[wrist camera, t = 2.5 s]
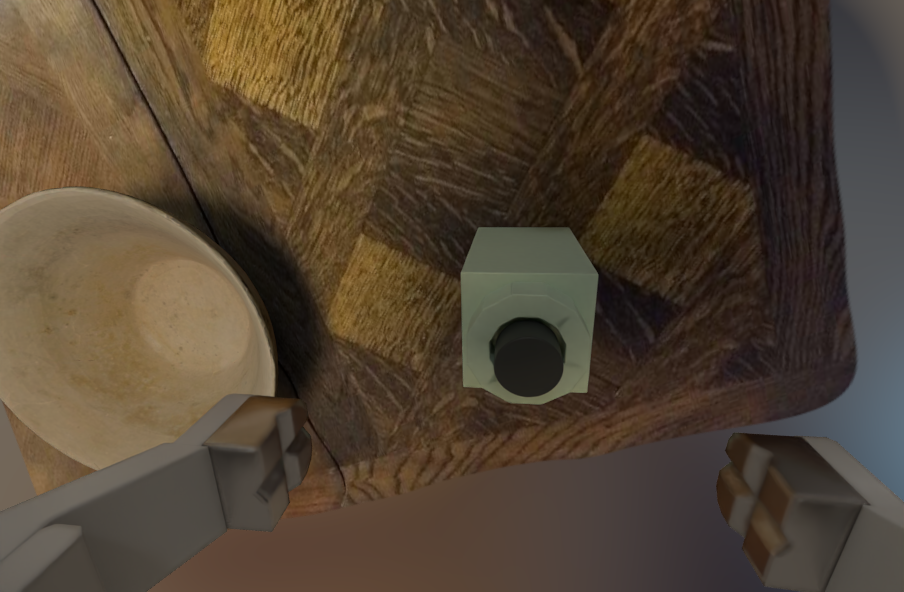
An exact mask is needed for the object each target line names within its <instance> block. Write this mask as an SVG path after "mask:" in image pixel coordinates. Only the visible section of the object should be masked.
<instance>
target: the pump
mask: <svg viewBox="0 0 904 592" xmlns="http://www.w3.org/2000/svg"><path fill="white" fill-rule="evenodd" d="M563 369H564V365H563V359H562V355H561V350H560V346H559V342H558V339H557V337H556V335H555V333H554V332H553V331H552V330H551V329H550V328H549V327H548V326H546V325H545V324H543V323H540V322H537V321H533V320H521V321H517V322H514V323H511V324H510V325H508V326H507V327H505V328H504V329H503V330H502V331H501V333H500V334H499V336H498V338H497V340H496V344H495V356H494V373H495V376H496V378H497V380H498V382H499V383H500V384H501V385H502V386H503V388H505V389H506V390H507V391H509V392H510V393H512V394H515V395H517V396H521V397H537V396H541V395H544V394H546V393H548V392H549V391H551V390H552V389H553V388H555V386H556V385H557V384H558V383H559V381H560V379H561V377H562V374H563Z"/></svg>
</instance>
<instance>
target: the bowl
mask: <svg viewBox="0 0 904 592" xmlns="http://www.w3.org/2000/svg"><path fill="white" fill-rule="evenodd" d="M277 389H278V355H277V347H276V340H275V336H274V331H273V327H272V324H271V321H270V318H269V315H268V312H267V310H266V307H265V305H264V303H263V301H262V299H261V297H260V295H259V294H258V292H257V290H256V288H255V287H254V285H253V284H252V282H251V280H250V279H249V277H248V276H247V274H246V273H245V272H244V270H243V269H242V268H241V267H240V266H239V265H238V264H237V262H236V261H235V260H234V259H233V258H232V257H231V256H230V255H229V254H228V253H227V252H226V251H225V250H224V249H223V248H221V247H220V246H219V245H218V244H217V243H215V242H214V241H213V240H211V239H210V238H209V237H208V236H206V235H205V234H204V233H202V232H201V231H200V230H198V229H197V228H195V227H194V226H192V225H191V224H189V223H187V222H186V221H184V220H182V219H180V218H179V217H177V216H175V215H173V214H171V213H169V212H167V211H165V210H163V209H161V208H159V207H157V206H155V205H152V204H150V203H148V202H145V201H143V200H140V199H138V198H135V197H132V196H129V195H125V194H122V193H118V192H114V191H110V190H105V189H99V188H92V187H63V188H54V189H48V190H43V191H39V192H36V193H32V194H29V195H27V196H25V197H23V198H21V199H19V200H17V201H15V202H13V203H11V204H10V205H8V206H6V207H4V208H3V209H1V210H0V399H1V400H2V401H3V402H4V403H5V404H6V405H7V406H8V408H9V409H10V410H11V411H12V412H13V413H14V414H15V415H16V416H17V418H18V419H19V420H20V421H21V422H23V423H24V424H25V425H26V426H27V427H28V428H29V429H30V430H32V431H33V432H34V433H36V434H37V435H38V436H39V437H40V438H41V439H43V440H44V441H46V442H47V443H49V444H50V445H52V446H53V447H54V448H56V449H57V450H59V451H61V452H62V453H64V454H65V455H67V456H69V457H70V458H72V459H74V460H76V461H78V462H80V463H82V464H84V465H86V466H88V467H91V468H93V469H96V470H101V469H103V468H105V467H108V466H110V465H113V464H115V463H117V462H120V461H122V460H125V459H127V458H129V457H132V456H134V455H136V454H139V453H141V452H144V451H146V450H148V449H151V448H153V447H156V446H158V445H160V444H163V443H174V442H175V441H176V440H177V439H178V438H179V437H180V436H181V435H182V434H184V433H185V432H186V431H187V430H188V429H189V428H190V427H191V426H192V425H193V424H195V423H196V422H197V421H198V420H199V419H200V418H201V417H202V416H203V415H205V414H206V413H207V412H208V411H209V410H210V409H211V408H212V407H213V406H215V405H216V404H217V403H218V402H219V401H220V400H221V399H222V398H223V397H225V396H226V395H228V394H233V393H238V394H251V395H262V396H272V397H276V395H277Z"/></svg>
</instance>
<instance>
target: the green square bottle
mask: <svg viewBox="0 0 904 592" xmlns="http://www.w3.org/2000/svg"><path fill="white" fill-rule="evenodd" d="M597 286H598V273H597V271H596V270H595V268H594V267H593V265H592V263H591V262H590V260H589V259H588V257H587V255H586V254H585V252H584V251H583V249H582V247H581V246H580V244H579V243H578V241H577V239H576V238H575V236H574V234H573V233H572V231H571V230H570V228H569V227H479V228H478V229H477V232H476V235H475V237H474V240H473V242H472V245H471V248H470V250H469V253H468V255H467V258H466V261H465V263H464V266H463V269H462V271H461V310H462V357H463V386H464V387H476V388H483V389H485V390H487V391H489V392H490V393H492V394H494V395H496V396H498V397H500V398H501V399H503V400H505V401H507V402H510V403H521V404H544V403H546V402H548V401H551V400H553V399H556V398H558V397H560V396H563V395H565V394H568V393H569V392H578V393H587V390H588V379H589V369H590V359H591V348H592V338H593V327H594V317H595V306H596V296H597ZM521 320H533V321H537V322H540V323H543V324H545V325H546V326H548V327H549V328H550V329H551V330H552V331H553V332H554V333H555V335H556V337H557V339H558V342H559V346H560V350H561V355H562V359H563V365H564V369H563V374H562V377H561V379H560V381H559V383H558V384H557V385H556V386H555V388H553V389H552V390H551V391H549V392H548V393H546V394H544V395H541V396H537V397H521V396H517V395H515V394H512V393H510V392H509V391H507V390H506V389H505V388H503V386H502V385H501V384H500V383H499V382H498V380H497V378H496V376H495V373H494V356H495V344H496V340H497V338H498V336H499V334H500V333H501V331H502V330H503V329H504V328H505V327H507V326H508V325H510V324H511V323H514V322H517V321H521Z"/></svg>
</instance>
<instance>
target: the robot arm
mask: <svg viewBox="0 0 904 592" xmlns="http://www.w3.org/2000/svg"><path fill="white" fill-rule="evenodd" d="M308 418H309V417H308V411H307V405H306V403H305V402H304V401H303V400H302V399H292V398H282V397H272V396H262V395H251V394H238V393H233V394H228V395H226V396H225V397H223V398H222V399H221V400H220V401H219V402H218V403H217V404H216V405H215V406H213V407H212V408H211V409H210V410H209V411H208V412H207V413H206V414H205V415H203V416H202V417H201V418H200V419H199V420H198V421H197V422H196V423H195V424H193V425H192V426H191V427H190V428H189V429H188V430H187V431H186V432H185V433H184V434H182V435H181V436H180V437H179V438H178V439H177V440H176V441H175V442H174V443H163V444H160V445H158V446H156V447H153V448H151V449H148V450H146V451H144V452H141V453H139V454H136V455H134V456H132V457H129V458H127V459H125V460H122V461H120V462H117V463H115V464H113V465H110V466H108V467H105V468H103V469H101V470H98V471H96V472H93V473H91V474H89V475H86V476H84V477H82V478H79V479H77V480H74V481H72V482H70V483H67V484H65V485H62V486H60V487H58V488H55V489H53V490H50V491H48V492H46V493H43V494H41V495H39V496H36V497H34V498H32V499H29V500H27V501H24V502H22V503H19V504H17V505H15V506H12V507H10V508H7V509H5V510H3V511H0V592H147V591H148V590H149V589H151V588H152V587H153V586H155V585H156V584H157V583H159V582H160V581H161V580H162V579H164V578H165V577H166V576H168V575H169V574H171V573H172V572H173V571H175V570H176V569H177V568H178V567H180V566H181V565H182V564H184V563H185V562H187V561H188V560H189V559H191V558H192V557H193V556H194V555H196V554H197V553H198V552H200V551H201V550H202V549H204V548H205V547H206V546H208V545H209V544H210V543H212V542H213V541H214V540H216V539H217V538H218V537H220V536H221V535H222V534H224V533H225V532H226V531H227V528H230V529H243V530H255V531H268V532H272V531H273V529H274V528H275V526H276V524H277V523H278V521H279V519H280V518H281V516H282V514H283V513H284V511H285V509H286V508H287V506H288V504H289V503H290V501H289V494H288V492H289V491H291V490H292V489H294V488H295V487H297V486H299V485H300V484H301V483H302V481H303V479H304V477H305V475H306V474H307V471H308V468H309V464H310V461H311V456H312V441H311V436H310V434H309V433H308V432H307V431H306V430H305V428H304V427H303V425H304V423H305V422H306V421H307V419H308ZM725 451H726V453H727V455H728V457H729V458H730V460H731V462H730V463H729V464H728V465H726V466H725V467H724V468H722V469H721V470H720V471H719V476H718V480H717V485H716V487H717V498H718V499H717V500H718V504H719V506H720V510H721V513H722V515H723V517H724V518H725V520H726V522H727V524H728V525H729V526H730V527H731V528H732V529H734V530H735V531H736V532H737V533H739V534H740V535H741V536H743V537H744V538H745V539H744V543H743V547H742V549H743V551H744V553H745V554H746V556H747V558H748V560H749V561H750V563H751V565H752V566H753V568H754V570H755V572H756V573H757V575H758V577H759V578H760V580H761V582H762V583H763V585H764V586H767V587H773V588H780V589H788V590H795V591H803V592H904V502H903V501H902V500H901V499H900V498H899V497H898V496H896V495H895V494H894V493H893V492H892V491H891V490H890V489H889V488H887V487H886V486H885V485H884V484H883V483H882V482H881V481H880V480H879V479H877V478H876V477H875V476H874V475H873V474H872V473H871V472H870V471H869V470H867V469H866V468H865V467H864V466H863V465H862V464H861V463H860V462H859V461H857V460H856V459H855V458H854V457H853V456H852V455H851V454H850V453H848V452H847V451H846V450H845V449H844V448H843V447H842V446H841V445H840V444H838V443H837V442H836V441H833V440H831V439H829V438H827V437H809V436H777V435H763V434H747V433H733V435H732V436H731V437H730V438H729V440H728V443H727V447H726V450H725Z"/></svg>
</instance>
